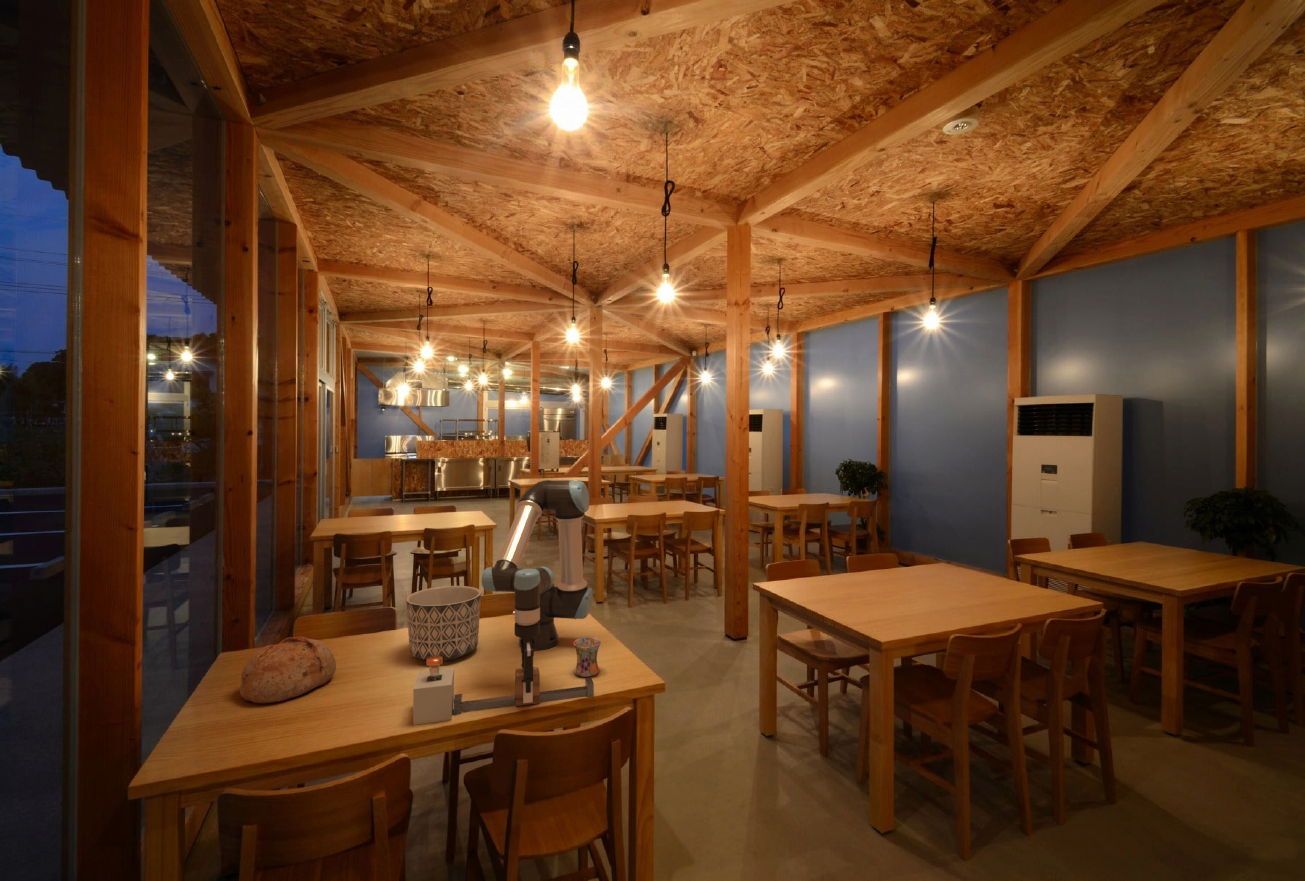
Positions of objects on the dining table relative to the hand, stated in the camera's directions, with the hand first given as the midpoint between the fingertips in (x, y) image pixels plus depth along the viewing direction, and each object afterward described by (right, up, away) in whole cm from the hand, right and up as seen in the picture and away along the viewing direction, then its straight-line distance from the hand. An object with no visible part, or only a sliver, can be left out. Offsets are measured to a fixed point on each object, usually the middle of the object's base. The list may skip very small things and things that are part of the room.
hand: (527, 697), depth 168 cm
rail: (0, -1, 0) cm, 1 cm away
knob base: (-26, -1, -7) cm, 26 cm away
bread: (-79, -1, +10) cm, 80 cm away
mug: (+15, -1, +22) cm, 27 cm away
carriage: (0, -1, 0) cm, 1 cm away
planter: (-39, -1, +37) cm, 54 cm away
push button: (-26, +8, -7) cm, 28 cm away
